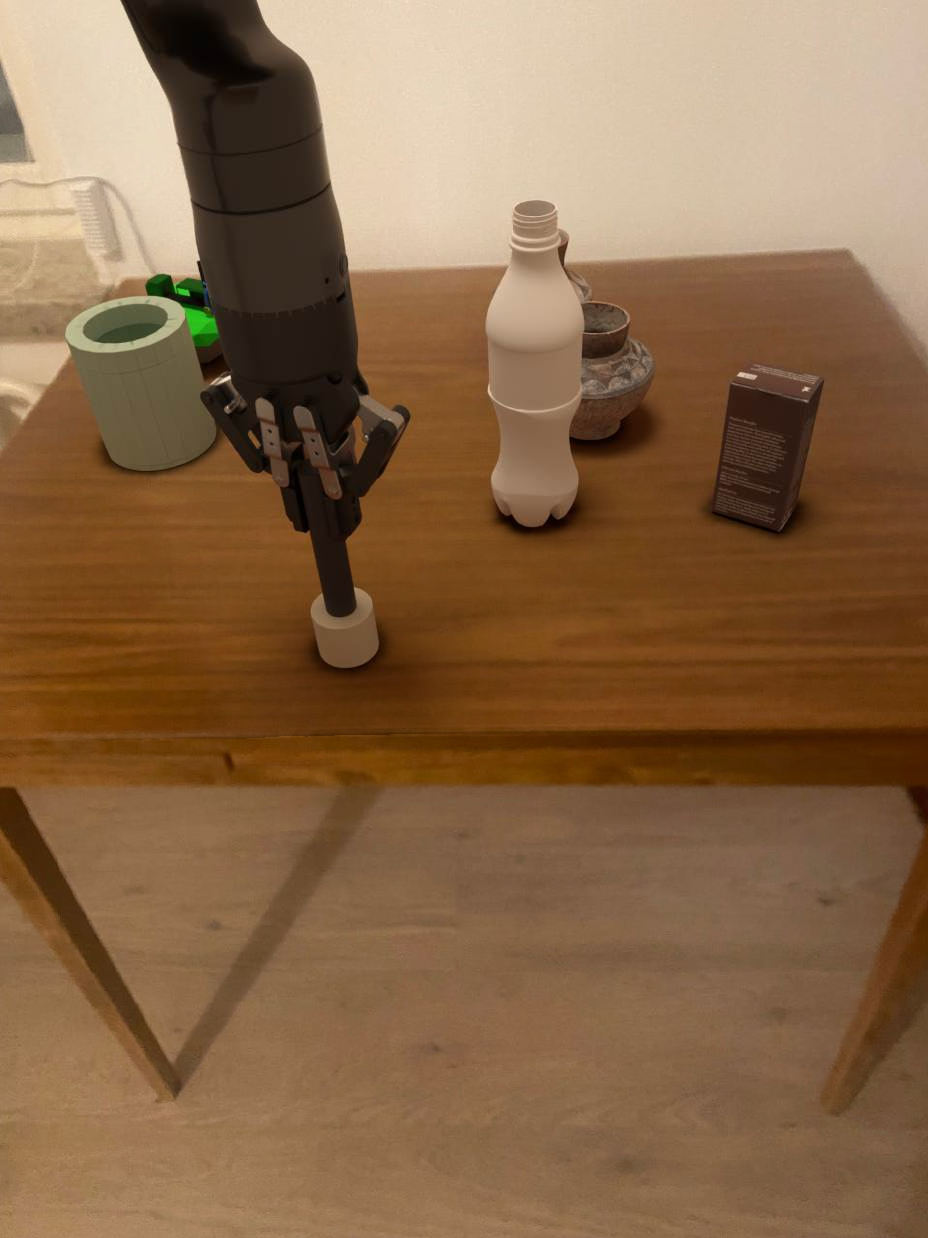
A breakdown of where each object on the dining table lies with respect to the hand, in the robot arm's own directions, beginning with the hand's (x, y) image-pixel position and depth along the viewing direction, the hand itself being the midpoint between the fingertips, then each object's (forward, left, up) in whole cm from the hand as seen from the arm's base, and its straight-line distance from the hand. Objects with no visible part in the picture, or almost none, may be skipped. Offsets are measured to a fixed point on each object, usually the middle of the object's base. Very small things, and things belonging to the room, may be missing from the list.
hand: (326, 528), depth 63 cm
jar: (+18, +30, -11) cm, 37 cm away
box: (+26, -24, -11) cm, 37 cm away
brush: (0, 0, -11) cm, 11 cm away
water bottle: (+20, -7, -11) cm, 24 cm away
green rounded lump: (+33, +36, -11) cm, 50 cm away
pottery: (+39, -3, -11) cm, 41 cm away
